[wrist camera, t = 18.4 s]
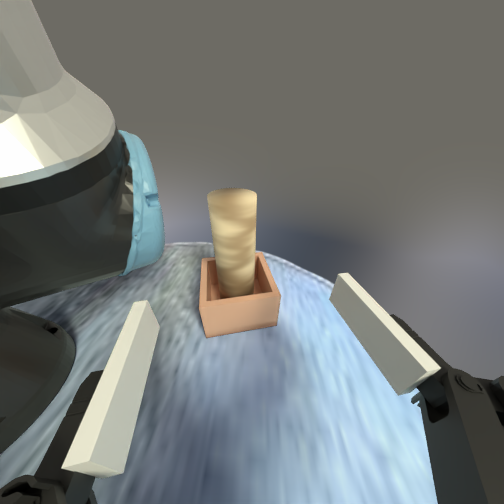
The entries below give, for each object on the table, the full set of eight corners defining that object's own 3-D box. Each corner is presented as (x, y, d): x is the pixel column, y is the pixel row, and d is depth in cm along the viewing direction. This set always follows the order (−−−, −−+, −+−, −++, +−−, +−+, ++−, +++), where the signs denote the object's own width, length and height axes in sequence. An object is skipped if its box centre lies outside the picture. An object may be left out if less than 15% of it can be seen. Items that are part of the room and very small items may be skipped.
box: (206, 338, 23) (199, 307, 20) (206, 286, 31) (201, 258, 28) (276, 325, 25) (280, 295, 22) (260, 279, 33) (261, 252, 29)
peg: (222, 316, 25) (207, 204, 16) (219, 290, 29) (207, 189, 20) (257, 310, 26) (262, 201, 17) (250, 285, 30) (251, 187, 21)
